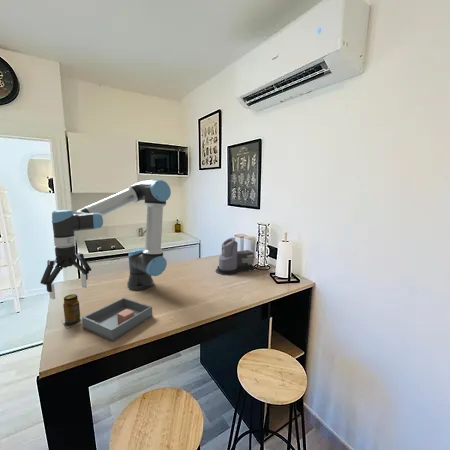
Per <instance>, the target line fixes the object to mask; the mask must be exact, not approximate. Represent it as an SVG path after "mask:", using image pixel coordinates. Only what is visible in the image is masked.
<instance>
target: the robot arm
mask: <svg viewBox="0 0 450 450" xmlns="http://www.w3.org/2000/svg"><path fill="white" fill-rule="evenodd" d="M171 192H172V191H171V186H170V185H169V184H168V182H167V181H165V180H162V179H143V180H140V181H139V182H136V183H134V184H132V185H129V186H127V187H126V189H124V190H122V191H119V192H118V193H116V194H112V195H110V196H108V197H106V198H103V199H101V200H98V201H97V202H94V203H91V204H89V205H87V206H84V207H82V208H80V209H77V210H72V209H57V210H53V211H52V213H51V224H52V230H53V231H52V233H53V241H54V243H53V244H54V253H55V259H52V260H51V259H48V260H47V265H46V268H45V270H44V273H43V275H42V277H41V280H40V284H41V285H44V286H45V287H46V291H47V292H48V293H49V299H51V300H56V292H55V283H54V281H55V279H56V278H57V276H58V275H59V274H60V272H61V271H62V270H63V269H67V268H68V267H72V266H74V267H75V268H76V269H78V270H79V271H80V272H81V273H80V279H81V280H80V281H81V287H82V288H85V289H86V288H87V287H88V285H87V280H88V279H89V277H88V276H89V272H91V271H92V268H91V266H90V265H89V264H88V262H87V260H86V259H85V256H84V253H80V252H78V253H77V249H76V239H75V237H76V236H75V232H79V231H88V230H97V229H101V228H102V227H103V225H104V218H103V216H106V215H107V214H110V213H112V212H113V211H116V210H118V209H121V208H122V207H124V206H127V205H129V204H131V203H138V202H140V201H144V204H145V205H146V227H145V246H144V247H143V248H135V249H132V250H129V252H128V264H129V265H128V267H129V268H128V269H129V276H128V281H127V284H126V285H127V286H126V287H127V288H129V290H131V289H132V290H131V291H143V290H146V289H148V288H149V289H150V288H151V287H153V285H154V280H153V277H158V276H161V275H162V274H163V272H165V270H166V268H167V265H168V264H167V259H166V258H165V257H164V250H163V249H162V233H163V218H164V217H163V214H164V207H166V205H167V201H168V200H169V199H170V197H171V195H172V193H171ZM77 259H78V260H79V262H80V263H81V265H80V264H79V263H78V261H77ZM54 266H55V267H54Z"/></svg>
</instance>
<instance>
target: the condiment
mask: <svg viewBox="0 0 450 450" xmlns="http://www.w3.org/2000/svg"><path fill="white" fill-rule="evenodd" d="M62 308H63V314H64V320H61V323H62V324H63V325H64V327H65V328H66V329H69V328H73V327H75V326H79V325H80V324H83V323H82V317H81V309H80V300H79V299H78V295H77V294H73V293H71V294H68V295H67V294H66V295H65V296H64V297H63V306H62Z"/></svg>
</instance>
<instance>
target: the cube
mask: <svg viewBox="0 0 450 450" xmlns="http://www.w3.org/2000/svg"><path fill="white" fill-rule="evenodd" d="M133 316H134V311H132V310H129V309H125V310H123V311H121V312H119V313H117V319H118V324H121V323H123V322H125V321H126V320H128V319H130V318H132V317H133Z"/></svg>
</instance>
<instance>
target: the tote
mask: <svg viewBox="0 0 450 450" xmlns="http://www.w3.org/2000/svg"><path fill="white" fill-rule="evenodd" d="M125 309H129V310H132V311H134V316H133V317H132V318H130V319H128V320H126V321H125V322H123V323H121V324H118V319H117V313H119V312H121V311H123V310H125ZM152 317H153V306H151V305H147V304H145V303H142V302H138V301H135V300H132V299H129V298H126V297H122V298H120V299H117V300H115V301H113V302H112V303H109V304H107V305H106V306H105V305H104V306H103V307H101V308H99V309H96V310H94V311H92V312H90V313H87V314H86V315H84V316H82V317H81V318H82V323H81V324H82V328H83V329H84V330H86V331H89V332H91V333H94V334H95V335H98V336H100V337H101V338H104V339H106V340H108V341H110V342H115V341H116V340H117V339H119V338H122V336H124V335H126V334H128V333H129V332H130V331H132V330H134V329H135V328H137V327H138V326H141V325H142V324H143V323H145V322H147V321H148V320H149V319H152Z"/></svg>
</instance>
